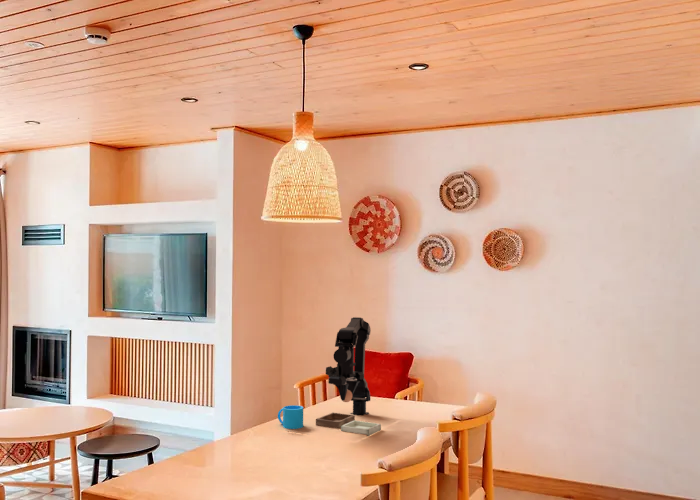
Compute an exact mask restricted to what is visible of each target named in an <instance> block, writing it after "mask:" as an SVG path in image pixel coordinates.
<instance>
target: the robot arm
mask: <svg viewBox="0 0 700 500" xmlns="http://www.w3.org/2000/svg"><path fill="white" fill-rule="evenodd" d="M370 335H371V326H370V323H368V322H367V321H366V320H364V318H363V317H357V316H355V317H351V318H350V321H349V323H348V324H347V325H346V326H345V327H342V328H339V330H338V331H337V334H336V338H335V344H334V347H337V349H336V350H335V351H334V353H333V359H334V361H335V362H336V363H337V364H336V366H335V367H332V366H331V365H330V366H327V367H325V375H326V376H328V379H327V380H328V381H327V382H328V384H329V385H334V386H335V387H336V388H337V390H338V393H339V398H340V397H341V398H340V400H341V401H342V400H343V401H344V400H345V397H346V393H347V390H349V391H351V393H352V399H351V401H352V412H350V414H349V415H356V416H366V415H369V414H370V412H369V411H367V403H368V402H371V392H370V389H369V387H368V382H367V380H366V379H365V365H366V364H365V363H366V360H365V359H366V344H367V343H368V341H369V339H370ZM343 401H342V402H343ZM351 401H350V402H351Z"/></svg>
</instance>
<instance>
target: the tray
mask: <svg viewBox="0 0 700 500" xmlns="http://www.w3.org/2000/svg"><path fill="white" fill-rule="evenodd" d="M381 431H382V425H381V423H377V422H369V421H362V420H361V421H360V420H356V419H355V420H354V421H352V422H349V423H347V424H345V425H342V426H341V428H340V432H345V433H346V432H347V433H352V434H353V433H354V434H359V435H366V437H370V436H372V435H373V434H376V433H378V432H381Z"/></svg>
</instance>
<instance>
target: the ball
mask: <svg viewBox="0 0 700 500" xmlns="http://www.w3.org/2000/svg"><path fill="white" fill-rule="evenodd" d="M339 398H340V399H341V397H340V396H339ZM351 399H352V393H351V391H349V390H348V389H347V393H346V397H345V400H344V401H343V400H341V401H342V402H344V403H349V402H351Z"/></svg>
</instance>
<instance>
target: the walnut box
mask: <svg viewBox="0 0 700 500" xmlns="http://www.w3.org/2000/svg"><path fill="white" fill-rule="evenodd" d="M355 417H356V416H355V415H354V414H345V413H340V412H339V413H338V412H331V413H328V414H326V415H325V414H324V415H322V416H320V417H317V418H316V419H315V426H320V427H326V428H333V429H341V426H342V425H345V424H347V423H349V422H352V421H354V420H356V419H355Z"/></svg>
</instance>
